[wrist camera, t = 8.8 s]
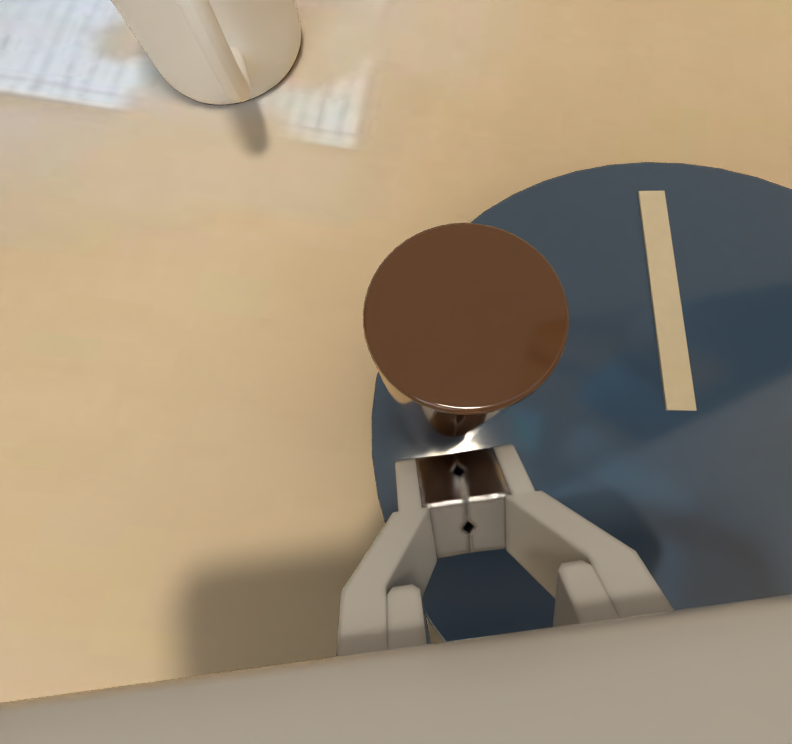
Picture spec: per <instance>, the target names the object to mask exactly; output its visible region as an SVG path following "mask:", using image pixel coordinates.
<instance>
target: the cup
mask: <svg viewBox="0 0 792 744" xmlns="http://www.w3.org/2000/svg"><path fill="white" fill-rule="evenodd" d="M111 1H112V2H113V4H114V5H115V7H116V8H117V10H118V11H119V13H120V14H121V16H122V17H123V19H124V20H125V22H126V23H127V25H128V26H129V28H130V29H131V31H132V32H133V34H134V35H135V37H136V38H137V40H138V41H139V43H140V44H141V46H142V47H143V49H144V50H145V52H146V53H147V55H148V56H149V58H150V59H151V61H152V62H153V64H154V65H155V67H156V68H157V69H158V71H159V72H160V73H161V75H162V76H163V77H164V78H165V79H166V80H167V82H168V83H169V84H170V85H171V86H172V87H174V88H175V89H176V90H178V91H179V92H180V93H182V94H184V95H185V96H187V97H189V98H191V99H194V100H196V101H199V102H203V103H208V104H217V105H224V104H234V103H239V102H244V101H246V100H250V99H252V98H255V97H257V96H259V95H261V94H263V93H265V92H266V91H268V90H269V89H271V88H272V87H274V86H275V85H276V84H277V83H279V82H280V81H281V80H282V79H283V78H284V77H285V75H286V74H287V73H288V72H289V70H290V69H291V67H292V66H293V64H294V62H295V60H296V57H297V54H298V51H299V47H300V42H301V24H300V18H299V13H298V8H297V4H296V0H111Z"/></svg>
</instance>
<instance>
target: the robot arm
mask: <svg viewBox="0 0 792 744" xmlns="http://www.w3.org/2000/svg"><path fill="white" fill-rule="evenodd" d="M395 470H396V483H397V497H398V512H393V513H392V514H391V516H390V517H389V519H388V520H387V522H386V523H385V525H384V527H383V528H382V530H381V531H380V533H379V534H378V536H377V537H376V539H375V540H374V542H373V544H372V545H371V547H370V548H369V550H368V551H367V553H366V554H365V556H364V557H363V559H362V561H361V562H360V564H359V565H358V567H357V568H356V570H355V571H354V573H353V574H352V576H351V578H350V579H349V581H348V582H347V584H346V585H345V587H344V588H343V590H342V591H341V598H340V612H339V625H338V639H337V653H336V657H331V658H324V659H317V660H309V661H302V662H295V663H287V664H280V665H273V666H266V667H258V668H251V669H244V670H236V671H229V672H222V673H215V674H207V675H200V676H193V677H185V678H178V679H171V680H163V681H156V682H149V683H141V684H134V685H127V686H119V687H112V688H105V689H97V690H90V691H83V692H75V693H68V694H61V695H53V696H46V697H39V698H31V699H24V700H17V701H9V702H2V703H0V744H792V594H789V595H782V596H774V597H767V598H760V599H753V600H745V601H738V602H731V603H724V604H716V605H709V606H702V607H694V608H687V609H680V610H674V609H673V608H672V606H671V605H670V603H669V602H668V600H667V599H666V597H665V596H664V594H663V592H662V591H661V589H660V588H659V586H658V585H657V583H656V582H655V580H654V578H653V577H652V575H651V574H650V572H649V571H648V569H647V568H646V566H645V565H644V563H643V561H642V560H641V558H640V557H639V555H638V554H637V552H636V551H635V550H633V549H632V548H630V547H629V546H627V545H625V544H624V543H622V542H621V541H619V540H618V539H616V538H615V537H613V536H612V535H610V534H608V533H607V532H605V531H604V530H602V529H601V528H599V527H598V526H596V525H594V524H593V523H591V522H590V521H588V520H587V519H585V518H584V517H582V516H581V515H579V514H577V513H576V512H574V511H573V510H571V509H570V508H568V507H567V506H565V505H563V504H562V503H560V502H559V501H557V500H556V499H554V498H553V497H551V496H550V495H548V494H546V493H545V492H543V491H542V490H541V491H535V489H534V487H533V485H532V483H531V481H530V479H529V476H528V474H527V472H526V470H525V468H524V466H523V464H522V462H521V460H520V458H519V455H518V453H517V451H516V449H515V447H514V446H513V445H512V444H505V445H499V446H493V447H492V448H491V447H489V448H482V449H476V450H470V451H464V452H457V453H452V454H444V455H436V456H428V457H420V458H416V461H415V459H408V460H399V461H396V464H395ZM498 549H506V551H507V552H508V553H510V554H511V555H512V556H513V557H514V558H515V559H516V560H517V561H518V562H519V563H520V564H521V565H522V566H523V567H524V568H525V569H526V570H527V571H528V572H529V573H530V574H531V575H532V576H533V577H534V578H535V579H536V580H537V581H538V582H539V583H540V584H541V585H542V586H543V587H544V588H545V589H546V590H547V591H548V592H549V593H550V594H551V595H552V596H553V597H554V598H555V608H554V618H553V627H549V628H542V629H535V630H527V631H520V632H513V633H506V634H498V635H491V636H484V637H477V638H469V639H462V640H455V641H448V642H440V643H433V644H431V641H430V636H429V631H428V626H427V621H426V616H425V611H424V606H423V601H422V597H423V595H424V592H425V590H426V587H427V585H428V582H429V580H430V577H431V575H432V572H433V570H434V567H435V565H436V562H437V558H443V557H449V556H454V555H460V554H466V553H472V552H481V551H490V550H498Z"/></svg>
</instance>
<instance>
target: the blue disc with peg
mask: <svg viewBox="0 0 792 744" xmlns="http://www.w3.org/2000/svg"><path fill="white" fill-rule="evenodd" d="M363 328H364V335H365V340H366V343H367V346H368V350H369V352H370V354H371V356H372V359H373V361H374V363H375V365H376V367H377V369H378V373H377V377H376V383H375V392H374V400H373V409H372V459H373V466H374V473H375V480H376V487H377V494H378V499H379V502H380V506H381V510H382V514H383V517H384V521H385V523H386V522H387V520H388V519H389V517H390V516H391V514H392V513H393V512H398V497H397V483H396V470H395V464H396V461H399V460H408V459H415V461H416V458H420V457H428V456H436V455H444V454H452V453H457V452H464V451H470V450H476V449H482V448H489V447H491V448H492V447H493V446H499V445H505V444H512V445H513V446H514V447H515V449H516V451H517V453H518V455H519V458H520V460H521V462H522V464H523V466H524V468H525V470H526V472H527V474H528V476H529V479H530V481H531V483H532V485H533V487H534V489H535V491H541V490H542V491H543V492H545V493H546V494H548V495H550V496H551V497H553V498H554V499H556V500H557V501H559V502H560V503H562V504H563V505H565V506H567V507H568V508H570V509H571V510H573V511H574V512H576V513H577V514H579V515H581V516H582V517H584V518H585V519H587V520H588V521H590V522H591V523H593V524H594V525H596V526H598V527H599V528H601V529H602V530H604V531H605V532H607V533H608V534H610V535H612V536H613V537H615V538H616V539H618V540H619V541H621V542H622V543H624V544H625V545H627V546H629V547H630V548H632V549H633V550H635V551H636V552H637V554H638V555H639V557H640V558H641V560H642V561H643V563H644V565H645V566H646V568H647V569H648V571H649V572H650V574H651V575H652V577H653V578H654V580H655V582H656V583H657V585H658V586H659V588H660V589H661V591H662V592H663V594H664V596H665V597H666V599H667V600H668V602H669V603H670V605H671V606H672V608H673V609H674V610H680V609H687V608H694V607H702V606H709V605H716V604H724V603H731V602H738V601H745V600H753V599H760V598H767V597H774V596H782V595H789V594H792V189H789V188H786V187H783V186H781V185H778V184H775V183H772V182H769V181H766V180H763V179H760V178H757V177H753V176H749V175H745V174H741V173H737V172H733V171H728V170H724V169H720V168H713V167H706V166H698V165H691V164H683V163H655V162H642V163H629V164H615V165H607V166H602V167H596V168H591V169H585V170H580V171H575V172H572V173H569V174H566V175H562V176H559V177H556V178H552V179H549V180H546V181H543V182H541V183H539V184H536V185H534V186H532V187H529V188H527V189H525V190H523V191H520V192H518V193H516V194H513V195H512V196H510V197H508V198H507V199H505V200H503V201H502V202H500V203H498V204H497V205H495V206H493V207H491V208H490V209H488V210H486V211H485V212H483V213H482V214H481V215H480V216H478V217H477V218H476V219H474V220H473V221H472V222H471V223H454V224H447V225H441V226H437V227H434V228H431V229H427V230H425V231H423V232H421V233H418V234H416V235H414V236H413V237H411V238H409V239H407V240H406V241H404V242H403V243H402V244H400V245H399V246H398V247H397V248H395V249H394V250H393V251H392V252H391V253H390V254H389V255H388V256H387V257H386V259H385V260H384V261H383V262H382V264H381V265H380V266H379V268H378V269H377V271H376V273H375V274H374V276H373V278H372V280H371V282H370V285H369V287H368V290H367V293H366V297H365V301H364V308H363ZM422 601H423V606H424V611H425V614H426V616H427V618H428V619H429V621H430V623H431V624H432V625H433V627H434V628H435V629H436V631H437V632H438V634H439V635H440V636H441V638H442V639H443V640H444V642H448V641H455V640H462V639H469V638H477V637H484V636H491V635H498V634H506V633H513V632H520V631H527V630H535V629H542V628H549V627H553V618H554V608H555V598H554V597H553V596H552V595H551V594H550V593H549V592H548V591H547V590H546V589H545V588H544V587H543V586H542V585H541V584H540V583H539V582H538V581H537V580H536V579H535V578H534V577H533V576H532V575H531V574H530V573H529V572H528V571H527V570H526V569H525V568H524V567H523V566H522V565H521V564H520V563H519V562H518V561H517V560H516V559H515V558H514V557H513V556H512V555H511V554H510V553H508V552H507V551H506V549H498V550H490V551H481V552H472V553H466V554H460V555H454V556H449V557H443V558H437V562H436V565H435V567H434V570H433V572H432V575H431V577H430V580H429V582H428V585H427V587H426V590H425V592H424V595H423V597H422Z"/></svg>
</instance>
